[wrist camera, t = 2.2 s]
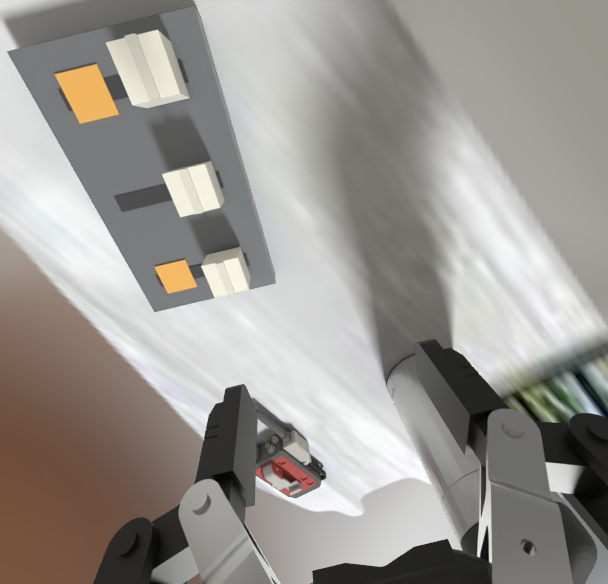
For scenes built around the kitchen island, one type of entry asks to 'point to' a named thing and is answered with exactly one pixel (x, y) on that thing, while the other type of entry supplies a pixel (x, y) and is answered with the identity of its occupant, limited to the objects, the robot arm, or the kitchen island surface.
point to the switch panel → (149, 154)
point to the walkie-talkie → (287, 462)
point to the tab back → (226, 272)
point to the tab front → (148, 69)
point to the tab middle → (194, 188)
